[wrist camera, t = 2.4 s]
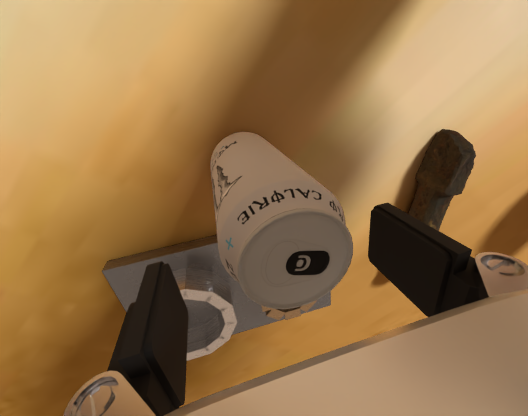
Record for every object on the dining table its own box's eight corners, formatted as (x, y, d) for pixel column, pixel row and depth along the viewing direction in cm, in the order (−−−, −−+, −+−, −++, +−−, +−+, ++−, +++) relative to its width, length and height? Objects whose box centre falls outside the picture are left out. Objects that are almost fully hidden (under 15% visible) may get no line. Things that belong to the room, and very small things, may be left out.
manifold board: (323, 209, 27) (344, 229, 23) (325, 296, 34) (341, 324, 30) (107, 261, 24) (88, 294, 20) (156, 346, 30) (149, 384, 26)
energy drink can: (212, 125, 21) (229, 189, 8) (278, 134, 22) (387, 199, 9) (208, 191, 23) (215, 325, 10) (268, 194, 25) (342, 314, 12)
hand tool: (405, 265, 35) (431, 288, 31) (381, 268, 34) (405, 292, 30) (458, 128, 27) (504, 135, 23) (429, 127, 26) (471, 134, 22)
